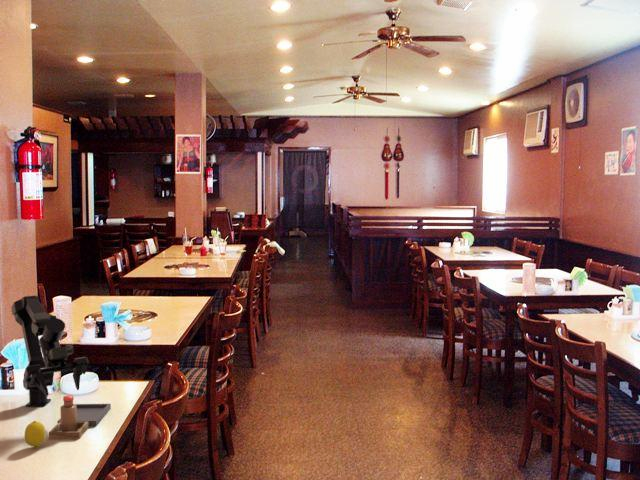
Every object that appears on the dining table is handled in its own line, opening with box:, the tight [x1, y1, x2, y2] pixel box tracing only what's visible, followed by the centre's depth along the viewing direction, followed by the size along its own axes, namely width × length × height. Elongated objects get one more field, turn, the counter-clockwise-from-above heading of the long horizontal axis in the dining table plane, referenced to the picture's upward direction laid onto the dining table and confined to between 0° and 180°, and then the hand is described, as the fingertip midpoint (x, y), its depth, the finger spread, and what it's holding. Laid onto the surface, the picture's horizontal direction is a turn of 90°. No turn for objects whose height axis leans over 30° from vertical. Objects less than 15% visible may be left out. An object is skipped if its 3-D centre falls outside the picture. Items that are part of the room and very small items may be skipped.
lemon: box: [24, 420, 46, 449], centre depth 181 cm, size 6×6×8 cm
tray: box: [57, 403, 112, 427], centre depth 205 cm, size 16×12×2 cm
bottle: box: [60, 394, 78, 432], centre depth 191 cm, size 5×5×12 cm
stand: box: [48, 421, 90, 440], centre depth 192 cm, size 9×9×2 cm
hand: (63, 392), depth 195 cm, fingers open, 9 cm apart
